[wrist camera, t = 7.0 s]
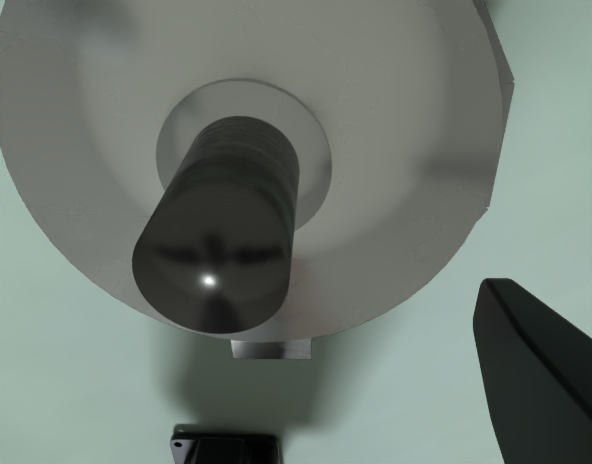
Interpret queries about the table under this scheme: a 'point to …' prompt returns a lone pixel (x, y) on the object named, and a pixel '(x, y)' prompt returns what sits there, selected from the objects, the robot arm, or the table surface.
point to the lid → (252, 151)
